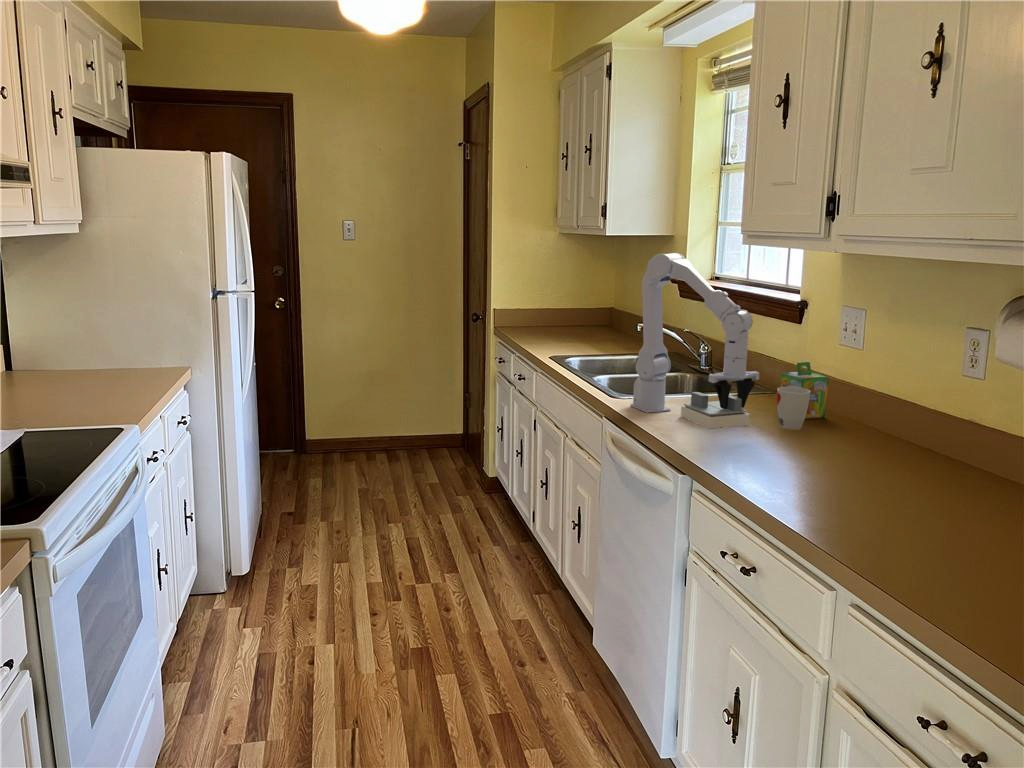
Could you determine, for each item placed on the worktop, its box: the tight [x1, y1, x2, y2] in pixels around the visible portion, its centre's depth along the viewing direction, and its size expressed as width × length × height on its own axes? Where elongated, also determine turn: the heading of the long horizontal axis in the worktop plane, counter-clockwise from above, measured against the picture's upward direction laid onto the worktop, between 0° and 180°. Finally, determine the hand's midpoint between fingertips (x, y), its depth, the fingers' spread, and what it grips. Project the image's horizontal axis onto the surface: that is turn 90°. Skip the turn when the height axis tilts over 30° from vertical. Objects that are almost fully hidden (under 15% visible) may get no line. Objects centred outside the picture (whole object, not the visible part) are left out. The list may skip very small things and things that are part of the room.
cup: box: [776, 386, 810, 431], centre depth 209 cm, size 8×8×10 cm
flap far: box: [708, 394, 748, 414], centre depth 216 cm, size 12×6×4 cm, turn 21°
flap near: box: [683, 391, 728, 415], centre depth 214 cm, size 12×6×4 cm, turn 21°
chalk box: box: [780, 361, 830, 420], centre depth 222 cm, size 9×9×15 cm
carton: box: [680, 405, 751, 429], centre depth 216 cm, size 14×12×3 cm
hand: (732, 407), depth 213 cm, fingers open, 5 cm apart
